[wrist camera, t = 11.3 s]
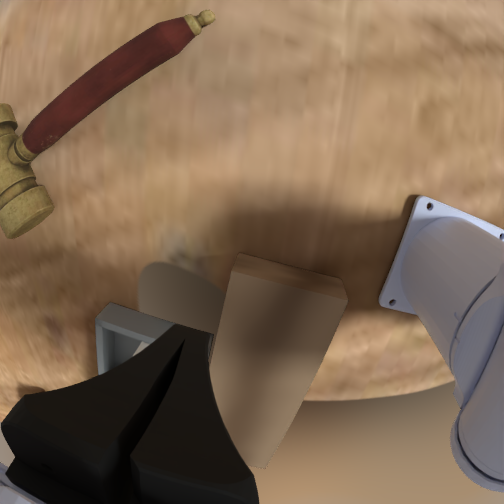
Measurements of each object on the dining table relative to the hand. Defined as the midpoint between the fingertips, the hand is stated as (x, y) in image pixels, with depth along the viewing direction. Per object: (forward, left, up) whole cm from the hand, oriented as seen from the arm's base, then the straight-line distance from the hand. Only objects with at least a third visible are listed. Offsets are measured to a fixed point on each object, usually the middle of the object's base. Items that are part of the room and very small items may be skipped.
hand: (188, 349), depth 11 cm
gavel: (+12, -8, -11) cm, 18 cm away
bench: (-4, +9, -10) cm, 15 cm away
